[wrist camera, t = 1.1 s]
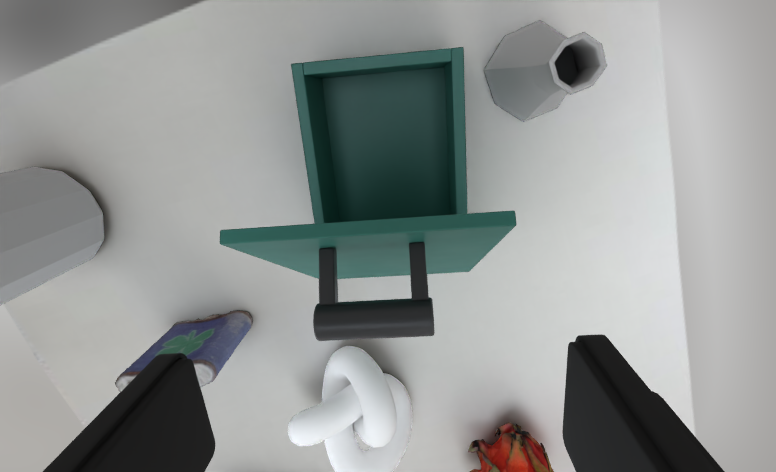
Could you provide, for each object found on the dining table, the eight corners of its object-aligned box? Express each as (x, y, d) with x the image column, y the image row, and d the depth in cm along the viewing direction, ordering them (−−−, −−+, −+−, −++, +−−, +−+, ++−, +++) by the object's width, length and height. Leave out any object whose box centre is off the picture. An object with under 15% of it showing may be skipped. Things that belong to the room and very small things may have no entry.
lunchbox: (313, 69, 34) (290, 63, 28) (453, 56, 33) (463, 46, 27) (336, 244, 39) (322, 274, 33) (458, 237, 38) (468, 265, 32)
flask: (542, 2, 32) (598, -39, 22) (594, 77, 33) (667, 69, 24) (467, 68, 33) (490, 58, 24) (519, 137, 35) (560, 152, 25)
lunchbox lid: (219, 229, 16) (215, 348, 15) (515, 210, 15) (529, 334, 15) (320, 272, 32) (321, 331, 31) (468, 263, 31) (474, 324, 31)
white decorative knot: (313, 321, 42) (288, 378, 33) (427, 343, 42) (431, 405, 34) (300, 408, 46) (275, 479, 37) (405, 428, 46) (404, 503, 37)
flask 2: (249, 306, 42) (197, 375, 32) (258, 331, 43) (211, 405, 33) (167, 322, 43) (92, 393, 33) (178, 346, 44) (108, 421, 34)
